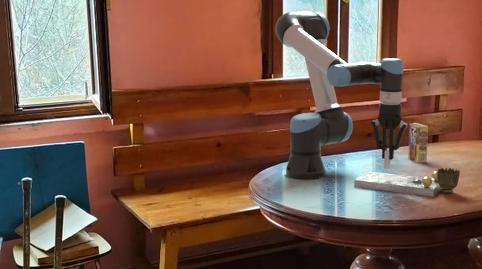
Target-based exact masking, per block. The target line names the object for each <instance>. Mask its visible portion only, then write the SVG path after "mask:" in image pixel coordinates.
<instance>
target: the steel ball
mask: <svg viewBox="0 0 482 269" xmlns="http://www.w3.org/2000/svg"><path fill="white" fill-rule="evenodd" d="M413 183H415V184H422V181H421V180H419V179H416V180H414V181H413Z"/></svg>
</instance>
